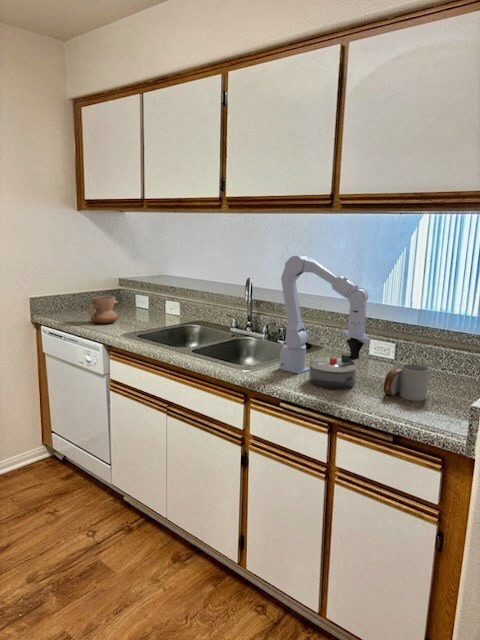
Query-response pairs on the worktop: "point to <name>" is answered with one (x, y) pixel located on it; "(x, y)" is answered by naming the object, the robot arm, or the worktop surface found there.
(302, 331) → the robot arm
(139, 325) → the worktop surface
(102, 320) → the ceramic jug
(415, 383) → the cup
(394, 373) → the tin
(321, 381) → the cooker pot
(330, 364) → the lid
